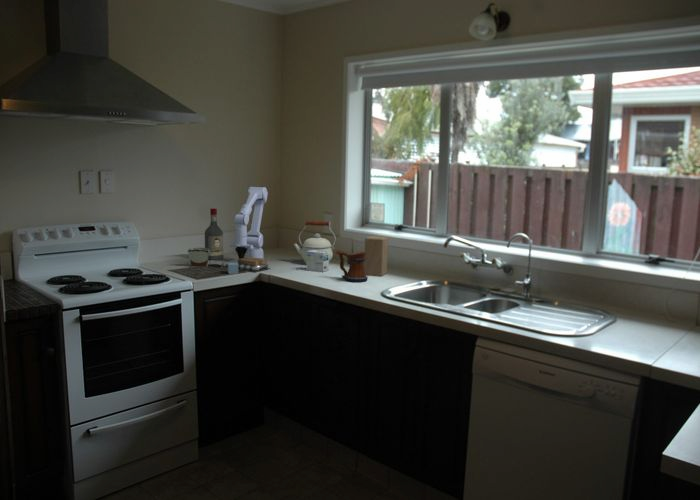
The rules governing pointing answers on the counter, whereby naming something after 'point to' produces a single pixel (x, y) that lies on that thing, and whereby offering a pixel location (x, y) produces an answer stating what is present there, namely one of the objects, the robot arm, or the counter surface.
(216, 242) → the liquor
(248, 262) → the slab
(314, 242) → the kettle
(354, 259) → the mug
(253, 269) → the roller track
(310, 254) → the light bulb box
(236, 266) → the block
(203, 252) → the food container
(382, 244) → the wooden block
